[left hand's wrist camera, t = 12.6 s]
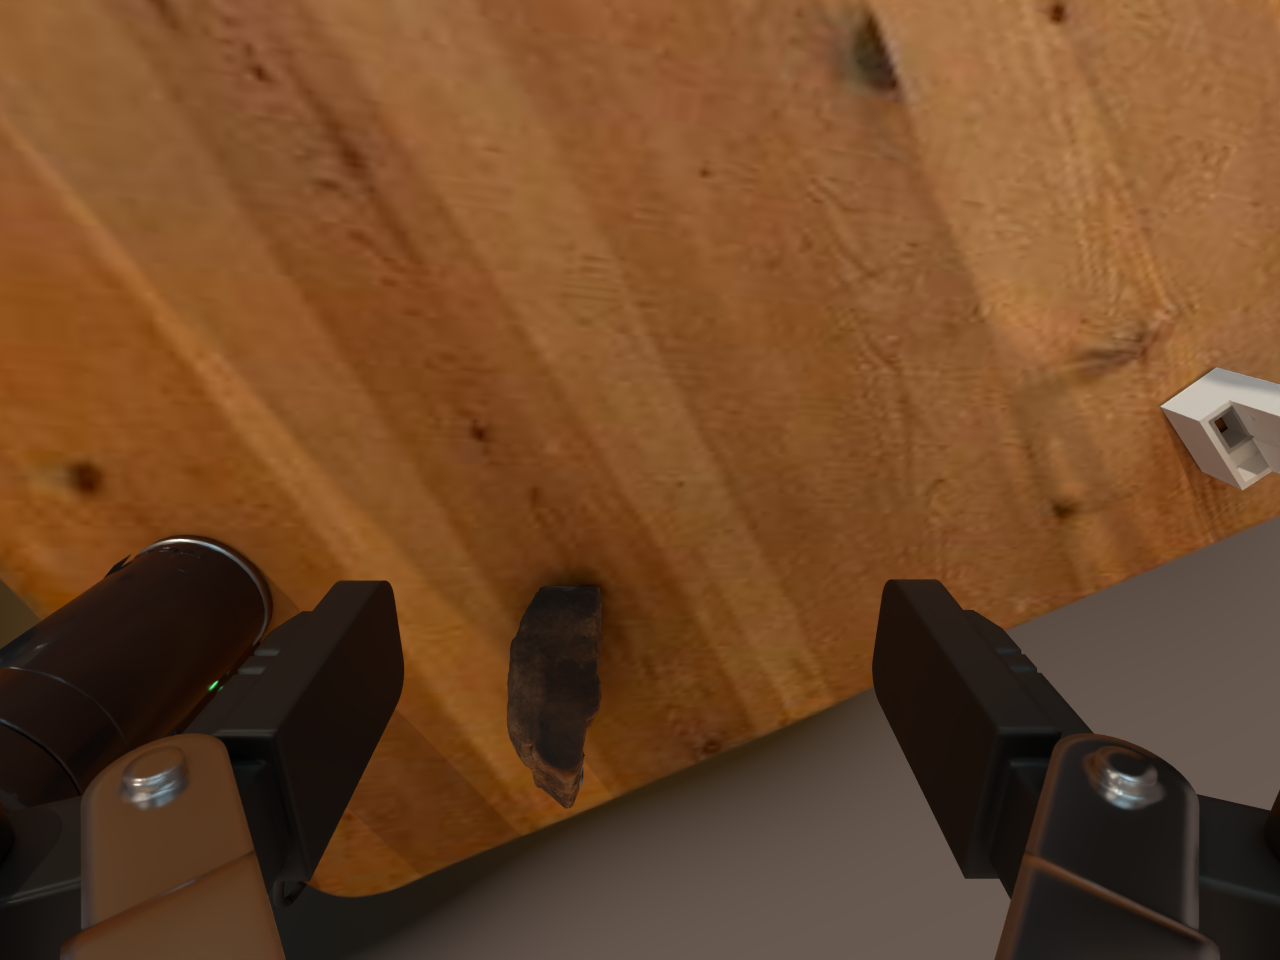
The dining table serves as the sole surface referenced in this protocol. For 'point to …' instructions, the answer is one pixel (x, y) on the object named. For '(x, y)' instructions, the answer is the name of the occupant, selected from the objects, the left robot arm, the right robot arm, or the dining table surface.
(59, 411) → the dining table surface
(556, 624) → the decorative rock
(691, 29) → the dining table surface
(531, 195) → the dining table surface
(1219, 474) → the white angled block
